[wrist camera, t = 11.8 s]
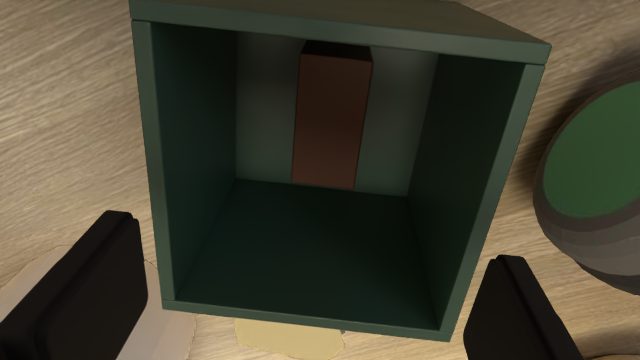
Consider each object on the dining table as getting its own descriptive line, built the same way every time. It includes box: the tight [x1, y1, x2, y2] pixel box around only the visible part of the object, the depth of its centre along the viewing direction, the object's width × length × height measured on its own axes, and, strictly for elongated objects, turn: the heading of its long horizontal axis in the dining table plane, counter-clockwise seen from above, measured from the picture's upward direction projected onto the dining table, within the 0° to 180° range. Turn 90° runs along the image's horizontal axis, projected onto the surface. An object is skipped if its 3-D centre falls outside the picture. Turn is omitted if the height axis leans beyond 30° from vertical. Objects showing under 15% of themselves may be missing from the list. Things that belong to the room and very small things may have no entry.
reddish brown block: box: [291, 40, 374, 189], centre depth 23 cm, size 7×4×4 cm, turn 175°
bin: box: [129, 0, 552, 342], centre depth 20 cm, size 12×12×12 cm
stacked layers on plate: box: [233, 318, 345, 360], centre depth 29 cm, size 10×9×6 cm
